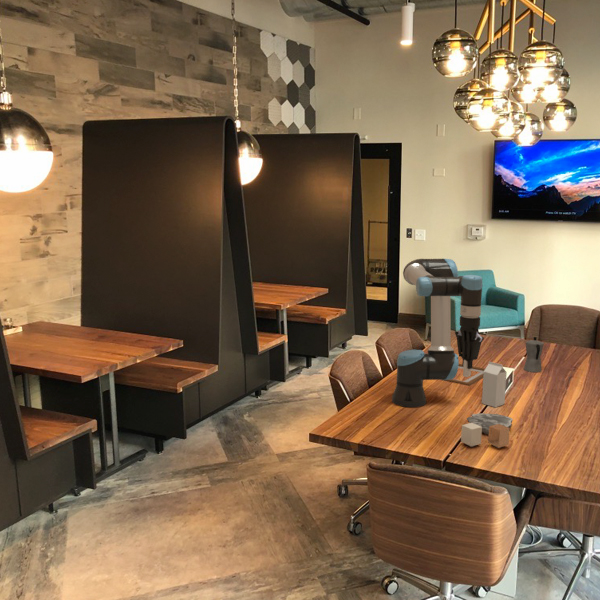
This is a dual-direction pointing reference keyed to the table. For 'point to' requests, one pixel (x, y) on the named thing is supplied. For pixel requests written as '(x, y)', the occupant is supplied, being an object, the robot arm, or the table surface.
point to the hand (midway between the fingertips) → (466, 376)
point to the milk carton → (494, 385)
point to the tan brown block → (498, 435)
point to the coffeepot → (533, 355)
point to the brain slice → (489, 421)
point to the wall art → (473, 378)
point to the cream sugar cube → (471, 434)
